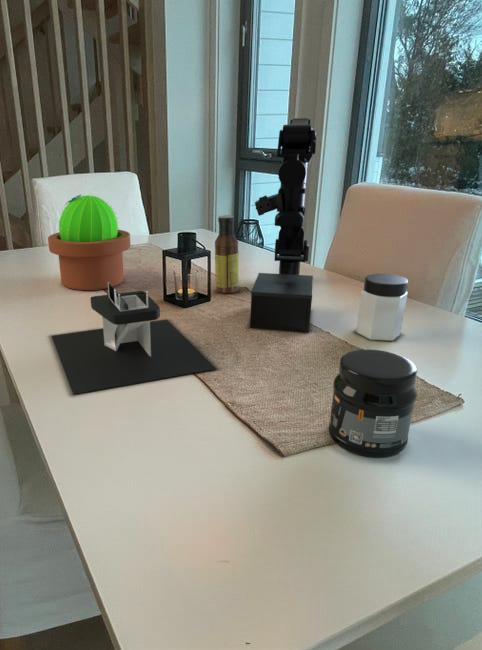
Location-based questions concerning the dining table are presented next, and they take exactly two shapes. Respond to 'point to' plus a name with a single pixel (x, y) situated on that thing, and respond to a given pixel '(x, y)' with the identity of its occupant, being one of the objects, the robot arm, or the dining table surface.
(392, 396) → the supplement container
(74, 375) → the black-topped pedestal
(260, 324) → the black storage bin
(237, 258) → the sauce bottle
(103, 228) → the potted cactus
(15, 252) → the dining table surface
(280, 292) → the bin lid
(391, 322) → the jar
